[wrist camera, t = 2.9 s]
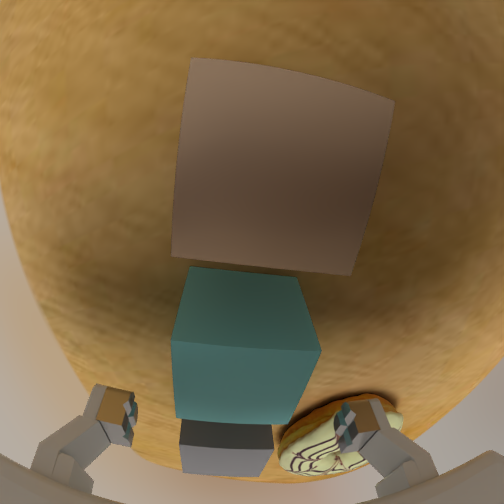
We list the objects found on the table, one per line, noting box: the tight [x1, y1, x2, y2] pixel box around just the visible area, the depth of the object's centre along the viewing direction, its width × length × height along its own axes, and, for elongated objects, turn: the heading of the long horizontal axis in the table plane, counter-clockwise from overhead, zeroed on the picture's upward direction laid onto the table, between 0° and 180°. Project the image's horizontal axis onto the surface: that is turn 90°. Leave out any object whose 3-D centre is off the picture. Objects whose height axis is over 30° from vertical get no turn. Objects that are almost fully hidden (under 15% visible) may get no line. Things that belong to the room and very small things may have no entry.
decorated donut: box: [278, 393, 403, 476], centre depth 19 cm, size 10×11×4 cm
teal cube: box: [171, 266, 322, 424], centre depth 12 cm, size 5×5×5 cm
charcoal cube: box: [179, 419, 274, 477], centre depth 16 cm, size 5×5×5 cm
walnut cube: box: [171, 58, 395, 276], centre depth 9 cm, size 5×5×5 cm
